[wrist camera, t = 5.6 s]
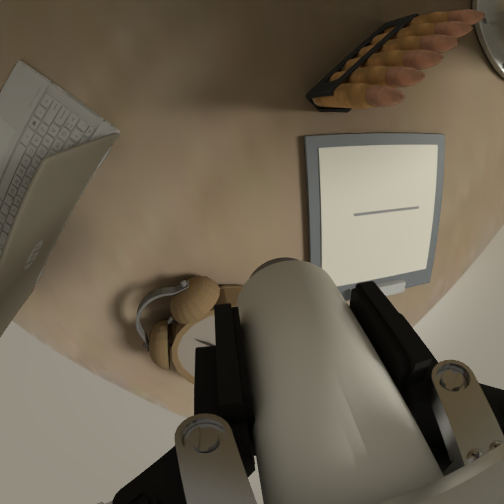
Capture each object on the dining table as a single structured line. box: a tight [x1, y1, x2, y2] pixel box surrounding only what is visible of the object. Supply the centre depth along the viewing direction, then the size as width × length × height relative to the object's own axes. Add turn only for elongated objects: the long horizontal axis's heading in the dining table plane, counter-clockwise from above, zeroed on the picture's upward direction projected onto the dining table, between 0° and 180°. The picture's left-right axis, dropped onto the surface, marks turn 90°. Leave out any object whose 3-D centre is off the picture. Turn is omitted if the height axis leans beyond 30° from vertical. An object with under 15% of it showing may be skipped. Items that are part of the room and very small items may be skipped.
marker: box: [236, 258, 444, 504], centre depth 8 cm, size 4×4×12 cm
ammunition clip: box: [306, 9, 485, 112], centre depth 17 cm, size 11×2×12 cm, turn 137°
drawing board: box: [304, 133, 445, 301], centre depth 28 cm, size 14×16×1 cm
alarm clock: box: [136, 276, 243, 384], centre depth 29 cm, size 11×5×15 cm
